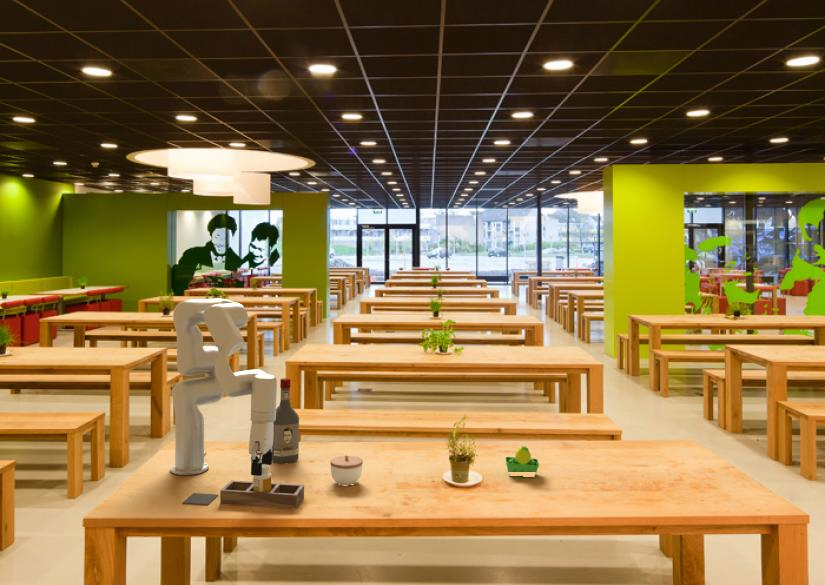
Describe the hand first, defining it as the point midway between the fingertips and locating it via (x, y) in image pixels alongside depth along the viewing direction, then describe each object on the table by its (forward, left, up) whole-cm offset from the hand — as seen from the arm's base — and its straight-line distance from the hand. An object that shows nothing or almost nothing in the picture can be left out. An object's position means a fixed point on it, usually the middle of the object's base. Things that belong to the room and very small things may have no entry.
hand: (261, 469), depth 207 cm
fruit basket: (-38, +82, -10) cm, 90 cm away
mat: (+2, -18, -10) cm, 21 cm away
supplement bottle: (0, 0, -9) cm, 9 cm away
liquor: (-40, -4, -10) cm, 41 cm away
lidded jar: (-20, +23, -10) cm, 31 cm away
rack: (0, +1, -10) cm, 10 cm away
